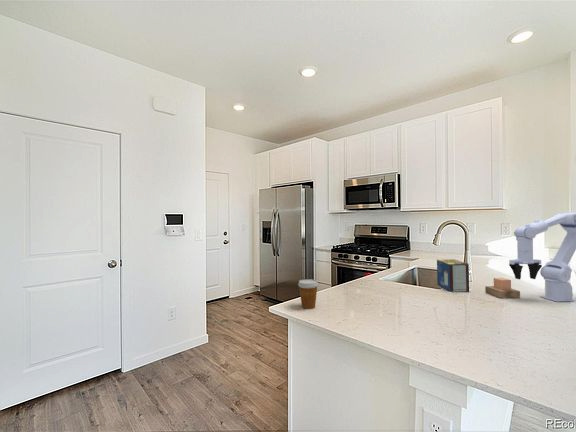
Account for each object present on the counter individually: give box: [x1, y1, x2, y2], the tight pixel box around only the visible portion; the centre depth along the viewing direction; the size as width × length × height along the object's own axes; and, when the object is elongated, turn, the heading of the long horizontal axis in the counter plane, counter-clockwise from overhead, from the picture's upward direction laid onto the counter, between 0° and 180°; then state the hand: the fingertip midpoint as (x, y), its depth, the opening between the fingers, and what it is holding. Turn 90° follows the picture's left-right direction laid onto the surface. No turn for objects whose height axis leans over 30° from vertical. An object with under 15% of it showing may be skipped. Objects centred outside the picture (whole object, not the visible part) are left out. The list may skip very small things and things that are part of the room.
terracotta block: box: [493, 277, 512, 290], centre depth 140 cm, size 5×5×5 cm
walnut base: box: [484, 285, 521, 300], centre depth 140 cm, size 10×10×4 cm
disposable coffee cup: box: [297, 278, 319, 310], centre depth 127 cm, size 10×10×12 cm
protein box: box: [436, 259, 470, 293], centre depth 155 cm, size 10×15×16 cm
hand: (525, 278), depth 132 cm, fingers open, 7 cm apart
